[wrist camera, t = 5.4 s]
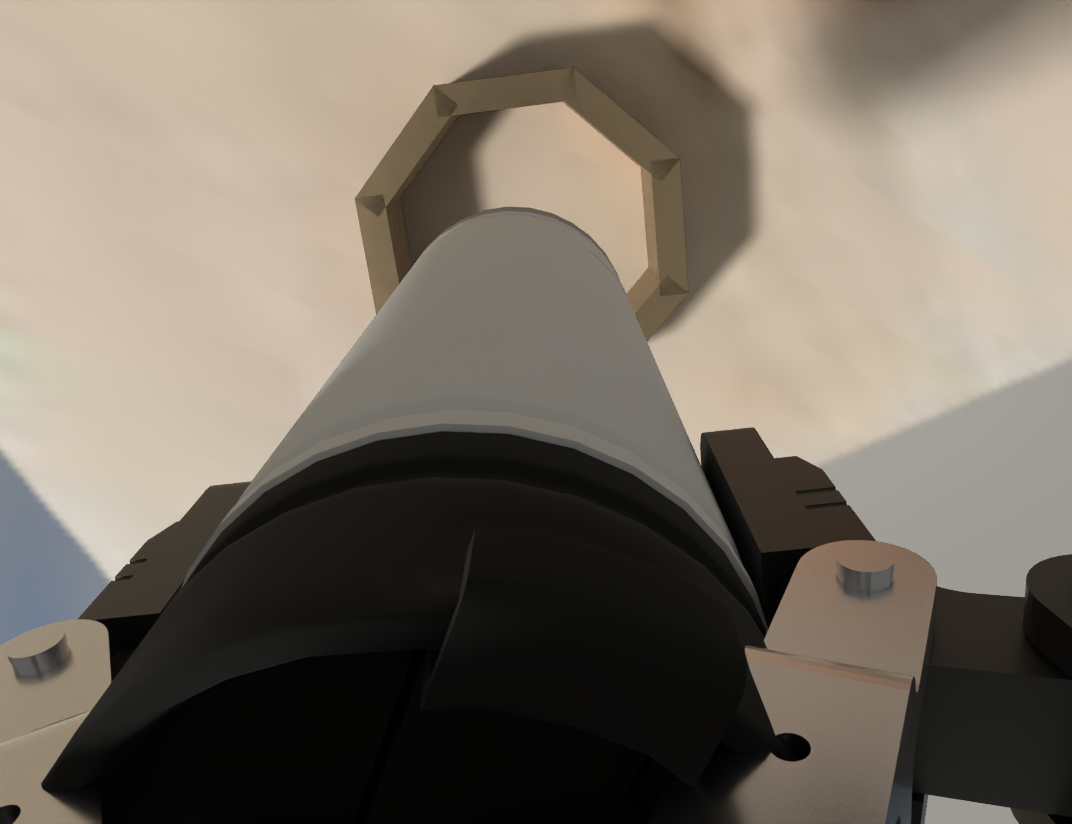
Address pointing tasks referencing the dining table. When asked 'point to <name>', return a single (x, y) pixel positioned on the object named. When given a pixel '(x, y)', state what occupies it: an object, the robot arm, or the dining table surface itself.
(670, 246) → the collar ring
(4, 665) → the robot arm
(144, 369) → the dining table surface
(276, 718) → the travel mug
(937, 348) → the dining table surface
